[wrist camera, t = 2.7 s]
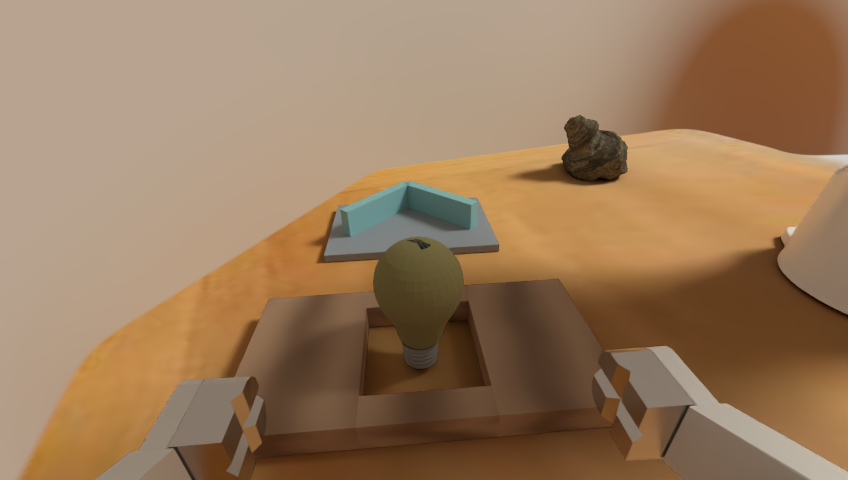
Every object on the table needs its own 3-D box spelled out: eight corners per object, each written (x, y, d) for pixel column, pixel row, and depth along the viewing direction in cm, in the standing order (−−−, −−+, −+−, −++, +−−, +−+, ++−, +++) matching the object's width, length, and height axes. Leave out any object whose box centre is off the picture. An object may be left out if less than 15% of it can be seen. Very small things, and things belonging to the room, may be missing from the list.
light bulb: (468, 342, 29) (473, 226, 24) (450, 404, 24) (451, 277, 19) (399, 328, 30) (390, 216, 25) (370, 384, 26) (351, 261, 21)
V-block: (476, 203, 50) (477, 175, 48) (498, 251, 40) (501, 218, 38) (339, 211, 49) (334, 183, 47) (325, 262, 39) (318, 229, 37)
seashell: (548, 121, 62) (540, 136, 54) (623, 81, 56) (628, 91, 48) (577, 181, 65) (575, 203, 57) (653, 148, 58) (662, 168, 50)
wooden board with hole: (555, 297, 33) (558, 278, 32) (629, 425, 23) (638, 403, 22) (274, 317, 32) (268, 298, 31) (217, 461, 21) (206, 440, 20)
